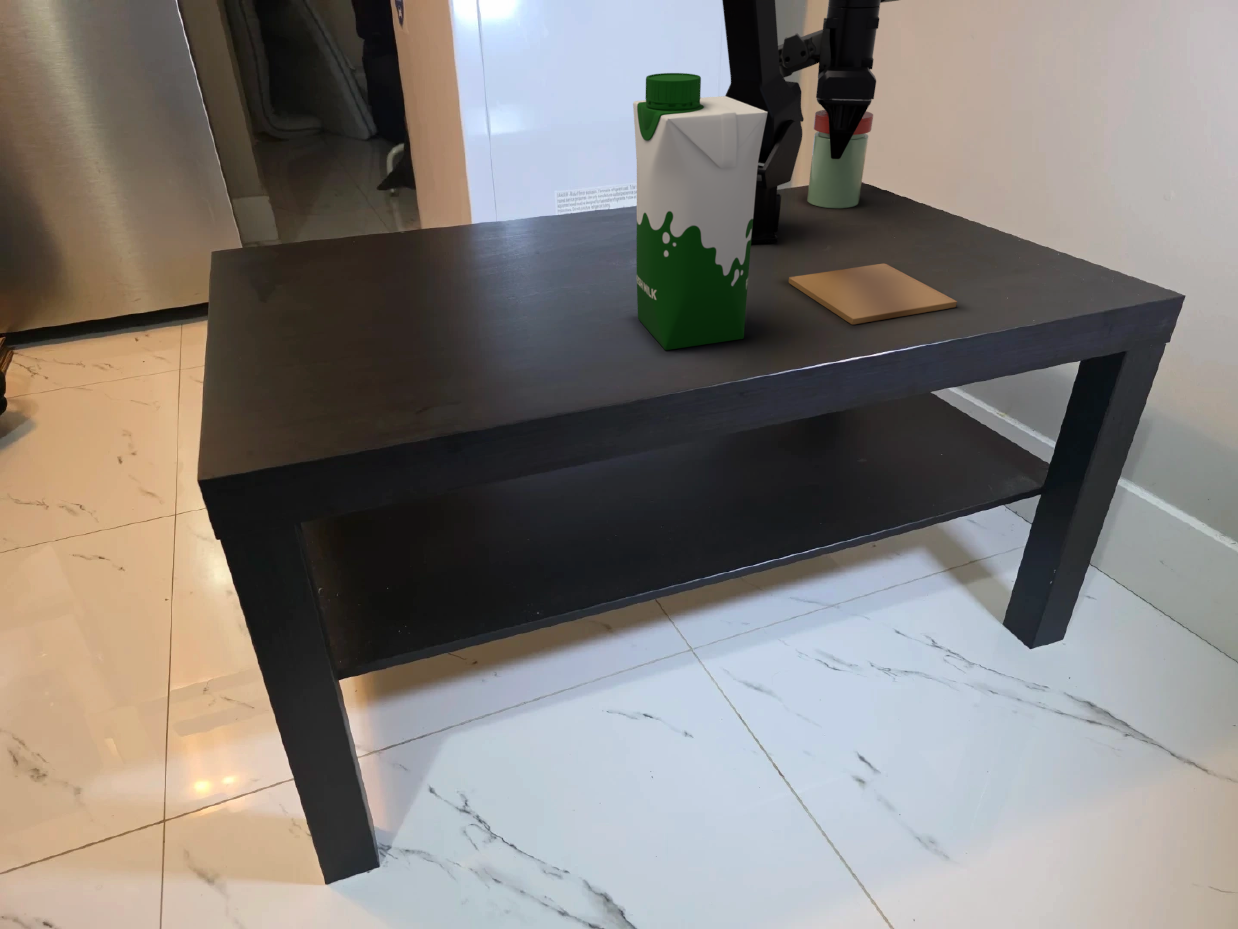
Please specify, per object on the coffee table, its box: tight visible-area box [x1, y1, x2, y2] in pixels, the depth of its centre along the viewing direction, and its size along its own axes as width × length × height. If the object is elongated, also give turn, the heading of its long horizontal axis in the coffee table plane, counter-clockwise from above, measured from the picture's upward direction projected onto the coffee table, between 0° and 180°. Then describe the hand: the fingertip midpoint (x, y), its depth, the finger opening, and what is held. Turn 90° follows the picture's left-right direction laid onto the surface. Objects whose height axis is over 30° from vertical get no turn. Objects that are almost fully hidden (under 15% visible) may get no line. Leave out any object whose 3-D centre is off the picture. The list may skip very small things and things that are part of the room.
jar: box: [806, 131, 869, 209], centre depth 101 cm, size 6×6×10 cm
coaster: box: [788, 262, 958, 326], centre depth 76 cm, size 11×11×1 cm
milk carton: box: [632, 72, 768, 351], centre depth 65 cm, size 9×9×20 cm
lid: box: [813, 109, 874, 135], centre depth 98 cm, size 7×7×2 cm
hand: (835, 150), depth 100 cm, fingers open, 8 cm apart
